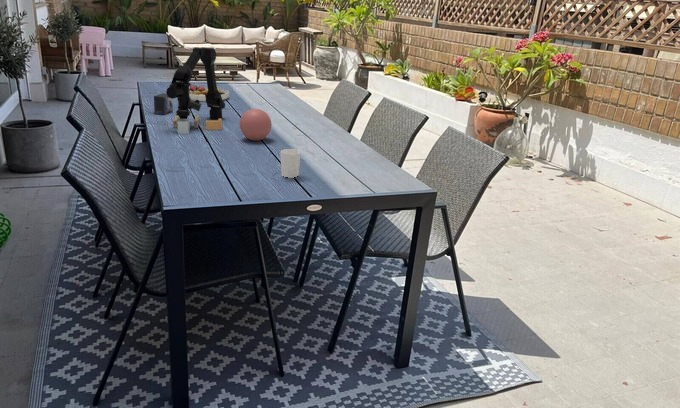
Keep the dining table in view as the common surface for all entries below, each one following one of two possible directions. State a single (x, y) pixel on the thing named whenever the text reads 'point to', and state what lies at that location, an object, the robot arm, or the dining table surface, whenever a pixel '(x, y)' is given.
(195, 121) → the channel
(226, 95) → the bowl
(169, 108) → the small box
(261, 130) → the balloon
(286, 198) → the dining table surface
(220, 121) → the bar
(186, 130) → the plug block
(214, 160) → the dining table surface
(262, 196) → the dining table surface
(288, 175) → the white cup
